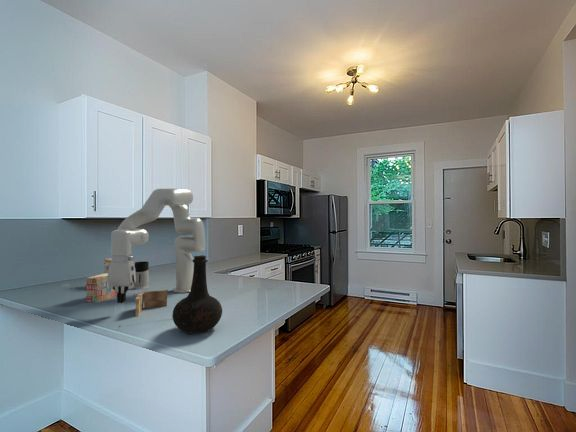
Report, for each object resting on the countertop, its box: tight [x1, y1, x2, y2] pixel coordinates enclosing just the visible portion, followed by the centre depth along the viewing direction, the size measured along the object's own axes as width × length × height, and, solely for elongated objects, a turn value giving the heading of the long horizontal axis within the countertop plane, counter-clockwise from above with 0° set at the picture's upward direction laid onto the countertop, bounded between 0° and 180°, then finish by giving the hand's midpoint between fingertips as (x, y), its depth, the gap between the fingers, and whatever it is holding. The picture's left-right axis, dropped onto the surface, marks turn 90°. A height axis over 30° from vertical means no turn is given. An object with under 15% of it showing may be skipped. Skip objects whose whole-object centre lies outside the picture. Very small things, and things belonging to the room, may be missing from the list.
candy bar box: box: [103, 257, 111, 274], centre depth 186 cm, size 11×5×16 cm, turn 58°
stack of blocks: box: [85, 272, 128, 303], centre depth 162 cm, size 21×6×12 cm, turn 169°
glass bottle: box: [171, 255, 223, 334], centre depth 117 cm, size 18×18×28 cm
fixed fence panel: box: [142, 289, 168, 310], centre depth 142 cm, size 12×2×8 cm, turn 116°
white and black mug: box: [132, 261, 150, 290], centre depth 181 cm, size 9×14×15 cm, turn 167°
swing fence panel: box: [135, 292, 144, 317], centre depth 133 cm, size 10×2×7 cm, turn 18°
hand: (121, 301), depth 130 cm, fingers closed
